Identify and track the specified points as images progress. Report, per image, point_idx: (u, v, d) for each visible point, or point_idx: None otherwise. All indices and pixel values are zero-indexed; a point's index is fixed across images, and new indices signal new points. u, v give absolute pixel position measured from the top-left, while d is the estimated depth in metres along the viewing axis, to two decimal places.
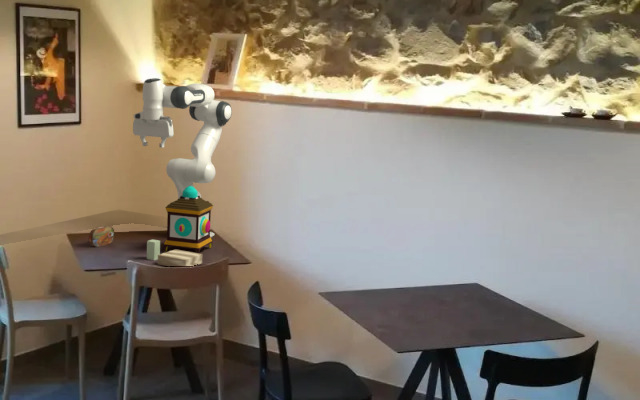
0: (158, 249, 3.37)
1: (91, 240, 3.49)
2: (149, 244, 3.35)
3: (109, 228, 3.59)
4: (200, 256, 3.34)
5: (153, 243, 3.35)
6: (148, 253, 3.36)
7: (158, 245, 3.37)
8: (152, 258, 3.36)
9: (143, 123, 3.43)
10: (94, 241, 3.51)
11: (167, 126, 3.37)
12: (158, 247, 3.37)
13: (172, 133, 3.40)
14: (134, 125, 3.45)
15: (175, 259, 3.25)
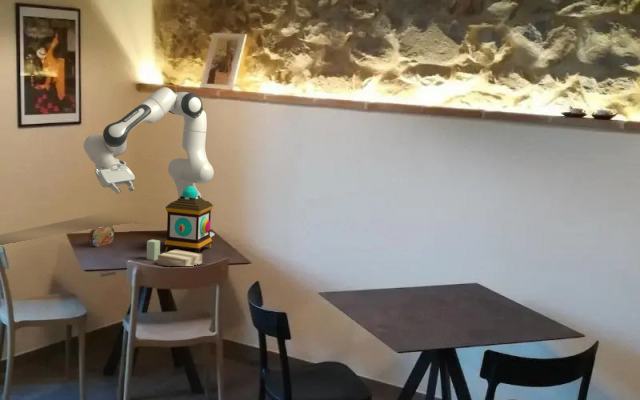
0: (158, 249, 3.37)
1: (91, 240, 3.49)
2: (149, 244, 3.35)
3: (109, 228, 3.59)
4: (200, 256, 3.34)
5: (152, 243, 3.35)
6: (148, 253, 3.36)
7: (158, 245, 3.37)
8: (152, 258, 3.36)
9: None
10: (94, 241, 3.51)
11: None
12: (158, 247, 3.37)
13: (104, 181, 3.31)
14: None
15: (175, 259, 3.25)
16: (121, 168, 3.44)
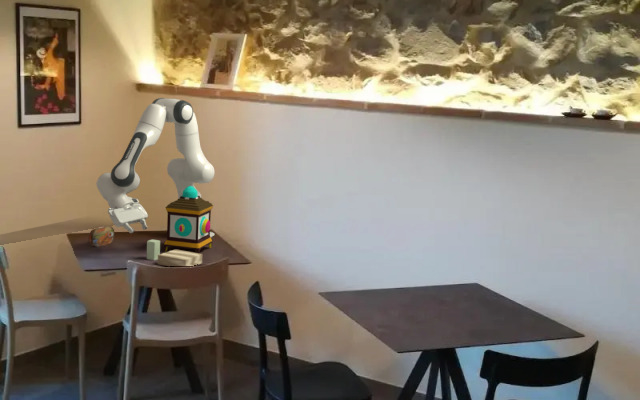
0: (158, 249, 3.37)
1: (91, 240, 3.49)
2: (149, 244, 3.35)
3: (109, 228, 3.59)
4: (200, 256, 3.34)
5: (153, 243, 3.35)
6: (148, 253, 3.36)
7: (158, 245, 3.37)
8: (152, 258, 3.36)
9: None
10: (94, 241, 3.51)
11: None
12: (158, 247, 3.37)
13: (117, 221, 3.31)
14: None
15: (175, 259, 3.25)
16: (134, 206, 3.44)
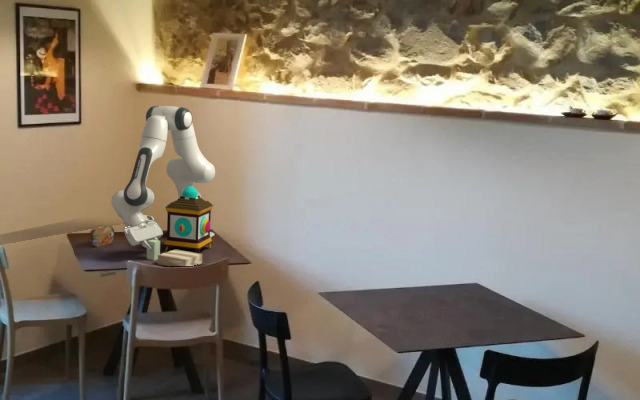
0: (158, 249, 3.37)
1: (91, 240, 3.49)
2: (149, 244, 3.35)
3: (109, 228, 3.59)
4: (200, 256, 3.34)
5: (153, 243, 3.35)
6: (148, 253, 3.36)
7: (158, 245, 3.37)
8: (152, 258, 3.36)
9: None
10: (94, 241, 3.51)
11: None
12: (158, 247, 3.37)
13: (133, 240, 3.29)
14: None
15: (175, 259, 3.25)
16: (150, 223, 3.42)
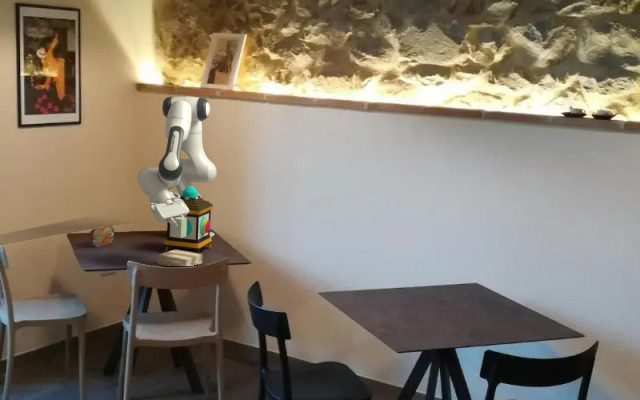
0: (185, 226, 3.30)
1: (91, 240, 3.49)
2: (176, 221, 3.28)
3: (109, 228, 3.59)
4: (200, 256, 3.34)
5: (179, 220, 3.27)
6: (175, 231, 3.29)
7: (185, 222, 3.30)
8: (179, 236, 3.28)
9: None
10: (94, 241, 3.51)
11: None
12: (185, 224, 3.30)
13: (159, 216, 3.21)
14: None
15: (175, 259, 3.25)
16: (176, 201, 3.34)
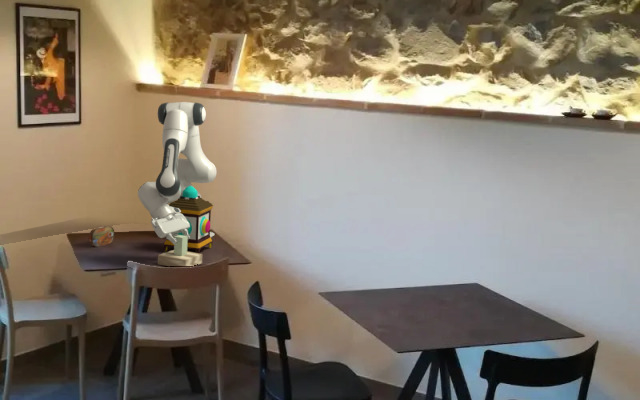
0: (186, 245, 3.31)
1: (91, 240, 3.49)
2: None
3: (109, 228, 3.59)
4: (200, 256, 3.34)
5: (180, 239, 3.28)
6: (175, 249, 3.30)
7: (185, 241, 3.31)
8: (179, 254, 3.30)
9: None
10: (94, 241, 3.51)
11: None
12: (185, 243, 3.31)
13: (160, 232, 3.22)
14: None
15: (175, 259, 3.25)
16: (177, 216, 3.35)
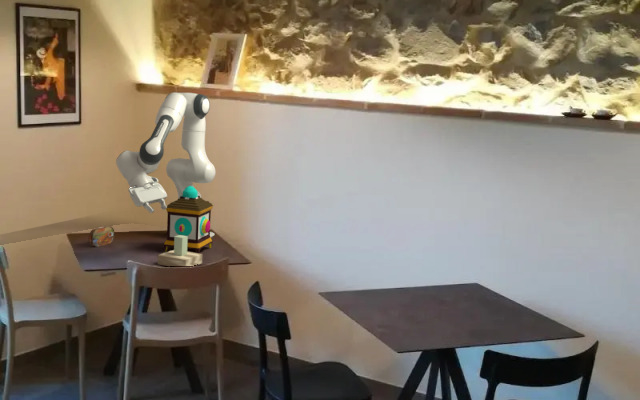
0: (186, 245, 3.31)
1: (91, 240, 3.49)
2: (176, 240, 3.29)
3: (109, 228, 3.59)
4: (200, 256, 3.34)
5: (180, 239, 3.28)
6: (175, 249, 3.30)
7: (185, 241, 3.31)
8: (179, 254, 3.30)
9: None
10: (94, 241, 3.51)
11: None
12: (185, 243, 3.31)
13: (138, 200, 3.24)
14: None
15: (175, 259, 3.25)
16: (154, 185, 3.37)
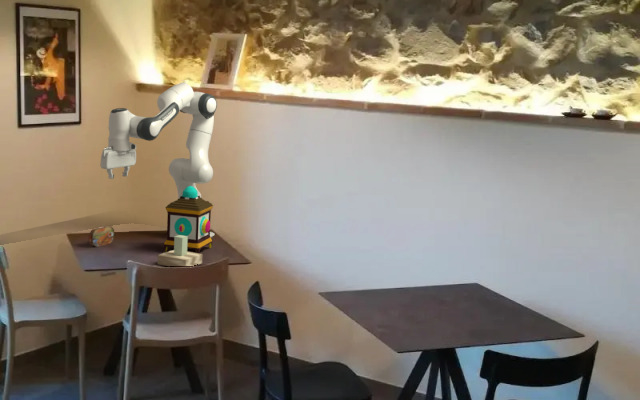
0: (186, 245, 3.31)
1: (91, 240, 3.49)
2: (176, 240, 3.29)
3: (109, 228, 3.59)
4: (200, 256, 3.34)
5: (180, 239, 3.28)
6: (175, 249, 3.30)
7: (185, 241, 3.31)
8: (179, 254, 3.30)
9: None
10: (94, 241, 3.51)
11: None
12: (185, 243, 3.31)
13: (104, 165, 3.27)
14: None
15: (175, 259, 3.25)
16: (129, 152, 3.39)
